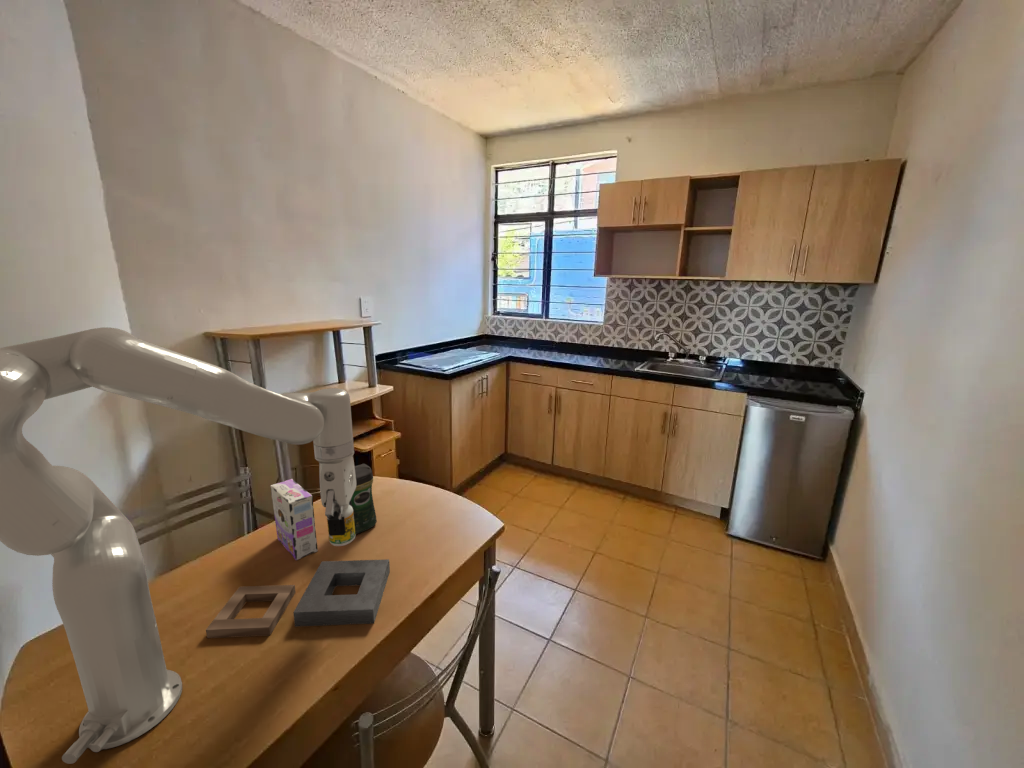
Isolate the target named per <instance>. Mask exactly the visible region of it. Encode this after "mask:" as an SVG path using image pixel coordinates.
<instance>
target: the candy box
mask: <svg viewBox="0 0 1024 768" xmlns="http://www.w3.org/2000/svg"><path fill="white" fill-rule="evenodd" d="M270 491H271V492H270V493H271V494H270V495H271V500H272V502H271V503H272V509H273V515H274V516H273V517H274V523H275V529H276V537H277V540H278V542H280V544H281V545H282V546H283V547H284V549H286V551H287V552H288V553H289V554H290V555H291V557H293V559H294V560H295V561H298V560H300V559H302V558H305V557H307V556H310V555H312V554H314V553H317V552H318V551H319V550H318V541H317V540H318V539H317V532H316V521H315V519H316V518H315V508H314V501H313V500H314V498H313V495H312V493H310V492H308V491H307V490H306V488H305V489H304V487H302V486H301V485H300V484H299V483H298V482H296V481H295V480H294V479H293V478H291V479H287V480H284V481H281V482H277V483H274V484H271V485H270Z"/></svg>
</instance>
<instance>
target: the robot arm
mask: <svg viewBox="0 0 1024 768" xmlns="http://www.w3.org/2000/svg"><path fill="white" fill-rule="evenodd" d="M90 388H95V389H98V390H101V391H104V392H107V393H111V394H115V395H118V396H123V397H126V398H129V399H134V400H138V401H141V402H146V403H149V404H152V405H157V406H161V407H164V408H165V407H166V408H168V409H172V410H176V411H180V412H183V413H187V414H191V415H193V416H197V417H199V418H201V419H205V420H208V421H211V422H214V423H218V424H222V425H224V426H228V427H230V428H233V429H236V430H239V431H243V432H246V433H249V434H252V435H256V436H259V437H262V438H266V439H270V440H274V441H279V442H282V443H285V444H290V445H305V444H309V443H311V442H312V443H313V450H314V451H313V452H314V459H315V460H316V461H317V462H318V463H319V464H318V465H319V468H318V470H319V471H318V473H319V475H318V476H319V491H320V500H321V505H322V507H323V508H325V511H324V516H325V517H326V521H327V520H328V524H327V530H328V529H329V533H328V536H329V535H330V536H336V535H345V533H346V530H345V519H344V517H342V515H343V506H346V505H347V504H348V503H349V505H351V506H352V502H351V497H352V495H353V493H354V491H355V489H356V475H355V467H354V466H355V462H354V454H355V443H354V435H353V420H352V419H353V418H352V407H351V396H350V394H349V392H348V391H346V390H345V389H344V388H339V387H338V388H333V387H330V388H323V389H318V390H316V391H312V392H287V393H285V392H284V393H277V392H274V391H271V390H268V389H266V388H264V387H261V386H259V385H257V384H254V383H252V382H251V381H248V380H246V379H244V378H243V377H240V376H239V375H237V374H236V373H233V372H231V371H230V370H227V369H225V368H223V367H221V366H218V365H216V364H213V363H211V362H210V363H209V362H207V361H204V360H201V359H198V358H195V357H191V356H189V355H186V354H183V353H182V352H181V353H180V352H177V351H175V350H171V349H169V348H167V347H163V346H160V345H158V344H155V343H152V342H150V341H146V340H144V339H140V338H139V337H136V336H135V335H134V334H131V333H130V332H128V331H126V330H123V329H120V328H116V327H108V326H107V327H105V326H104V327H97V328H91V329H86V330H81V331H76V332H73V333H68V334H63V335H59V336H58V335H57V336H54V337H49V338H48V337H47V338H43V339H38V340H35V341H29V342H24V343H23V342H22V343H18V344H14V345H9V346H3V347H0V542H1V543H2V544H3V545H4V546H5V547H7V548H8V549H10V550H12V551H14V552H15V553H19V554H22V555H26V556H36V557H39V556H50V555H51V557H52V558H53V564H52V580H51V581H52V582H51V583H52V584H51V585H52V596H53V600H54V603H55V607H56V611H57V612H58V615H59V617H60V619H61V621H62V625H63V627H64V630H65V634H66V637H67V639H68V644H69V646H70V647H69V648H70V650H71V653H72V657H73V661H74V662H75V667H76V670H77V673H78V678H79V681H80V684H81V688H82V690H83V695H84V699H85V702H86V706H87V710H88V711H87V712H86V713H85V715H84V717H83V718H82V720H81V722H80V725H79V729H78V736H79V738H78V739H76V741H74V742H73V744H72V745H70V747H69V748H67V750H66V752H64V753H63V755H62V756H61V760H62V762H63V763H65V764H67V765H69V764H71V765H72V764H74V763H76V762H77V761H78V759H79V758H80V757H81V756H82V755H83V754H84V753H85V751H86V750H87V749H90V750H91V751H92V752H94V753H99V752H100V751H102V750H108V749H112V748H115V747H119V746H121V745H124V744H126V743H130V742H131V741H133V740H135V739H137V738H138V737H140V736H143V734H144V735H145V733H147V732H149V730H151V729H152V728H153V727H155V726H157V725H158V724H159V723H160V722H161V721H162V720H163V719H165V717H166V716H168V714H169V713H170V712H171V711H172V710H173V709H174V707H175V706H176V704H177V703H178V701H179V699H180V697H181V695H182V692H183V682H182V678H181V676H180V674H179V673H177V672H176V671H173V670H170V669H167V665H166V661H165V656H164V651H163V647H162V643H161V637H160V633H159V628H158V624H157V618H156V614H155V611H154V607H153V602H152V601H153V600H152V597H151V593H150V592H151V591H150V587H149V580H148V575H147V574H148V573H147V567H146V564H145V563H146V562H145V559H144V555H143V553H142V549H141V545H140V543H139V539H138V536H137V532H136V530H135V528H134V526H133V524H132V523H131V521H130V520H129V519H128V518H127V517H126V515H124V514H123V512H122V511H121V510H120V509H119V508H118V507H117V506H116V504H114V502H112V501H111V499H110V498H109V497H108V496H107V495H106V494H105V493H104V492H103V491H102V490H101V488H99V487H98V485H97V484H96V483H95V482H94V481H93V480H92V479H91V478H90V477H88V476H87V475H86V474H84V473H83V472H81V471H79V470H77V469H75V468H73V467H69V466H64V465H52V464H51V462H49V460H48V459H47V458H46V456H45V455H44V454H43V453H42V452H41V451H40V450H39V449H38V448H37V447H35V446H34V445H33V444H32V443H31V442H29V441H28V440H27V439H26V438H25V436H24V435H23V426H24V424H25V423H26V422H27V420H28V419H30V418H31V417H32V416H33V415H34V414H35V413H36V412H38V410H39V409H40V408H41V406H42V405H43V404H44V401H45V400H49V399H52V398H57V397H59V396H64V395H67V394H71V393H74V392H79V391H82V390H85V389H90ZM335 501H337V502H338V503H336V504H334V502H335ZM334 507H338V512H337V511H335V510H334Z"/></svg>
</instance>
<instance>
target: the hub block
mask: <svg viewBox="0 0 1024 768" xmlns="http://www.w3.org/2000/svg"><path fill="white" fill-rule="evenodd" d="M390 566H391V565H390V559H389V558H388V559H361V560H357V559H356V560H329V561H328V560H324V561H321V562H320V564H319V566H318V568H316V571H315V573H314V575H313V576H312V578H311V580H310V581H309V584H308V585H307V587H306V589H305V590H304V593H303V595H302V596H301V597H300V600H299V601H298V603H297V605H296V606H295V609H294V610H293V613H292V614H293V619H294V620H293V622H294V627H296V628H297V627H317V626H318V627H319V626H321V627H322V626H344V625H345V626H346V625H362V624H363V625H365V624H367V625H369V624H375V622H376V618H377V616H378V612H379V609H380V605H381V603H382V599H383V596H384V593H385V590H386V589H385V588H386V586H387V582H388V579H389V575H390V572H391V570H390ZM349 586H350V587H353V586H354V587H355V586H359V588H358V592H357V594H355V593H354V594H334V595H333V593H334V591H335V589H336V587H349ZM383 592H384V593H383Z"/></svg>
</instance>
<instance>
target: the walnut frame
mask: <svg viewBox="0 0 1024 768" xmlns="http://www.w3.org/2000/svg"><path fill="white" fill-rule="evenodd" d="M295 595H296V585H295V584H282V585H281V584H278V585H277V584H276V585H254V586H253V585H251V586H239V587H238V588H237V590H236V591H235V592H234V593H233V594H232V596H230V598H229V600H228V601H227V602H226V603H225V604H224V605H223V607H222V608H221V610H220V611H219V612H218V614H217V615H216V616H215V617H214V618H213V620H212V621H211V622H210V624H209V625H208V626H207V628H206V629H205V632H206V633H205V634H206V638H207V639H221V638H243V637H247V638H248V637H267V636H272V633H273V631H274V630H275V628H276V626H277V625H278V623H279V621H280V620H281V618H282V616H283V615H284V613H285V611H286V610H287V607H288V606H289V604H290V603H291V601H292V600H293V597H294V596H295ZM252 602H253V603H257V602H271V604H270V605H269V607H268V608H267V610H266V612H265V613H264V615H262V617H254V618H252V617H251V618H236V617H237V616H238V614H239V613H240V612H241V610H242V608H244V606H245V605H246V603H252Z"/></svg>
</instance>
